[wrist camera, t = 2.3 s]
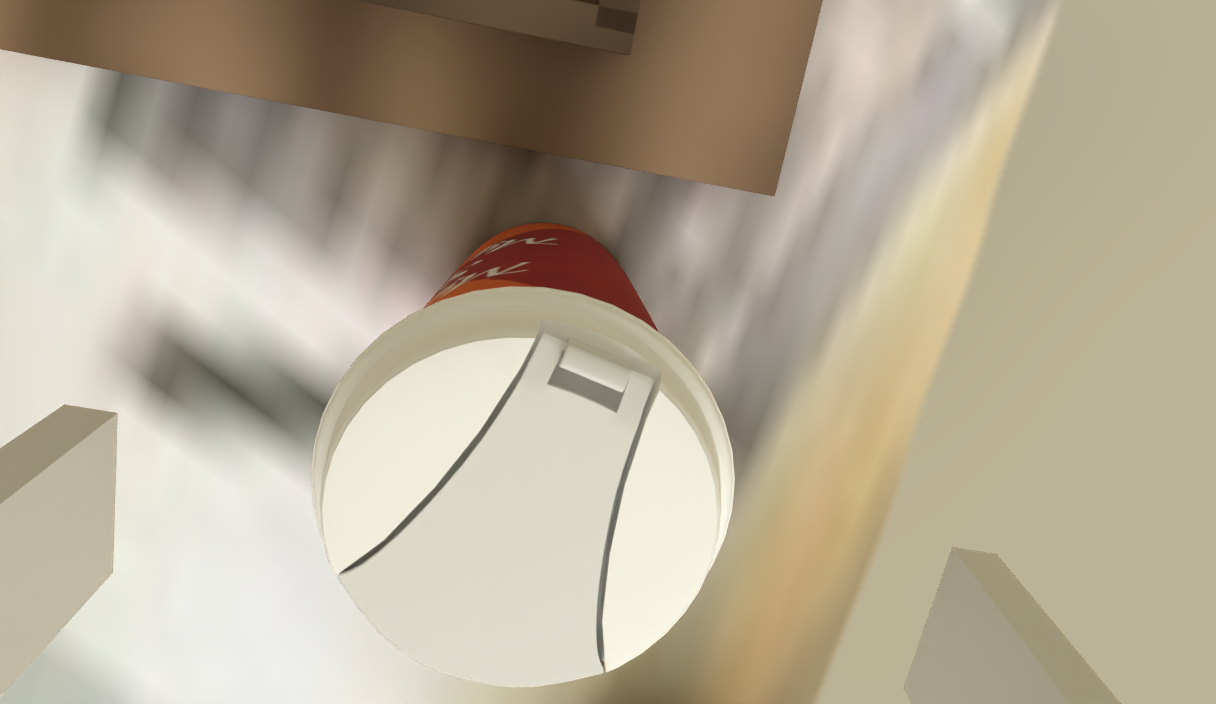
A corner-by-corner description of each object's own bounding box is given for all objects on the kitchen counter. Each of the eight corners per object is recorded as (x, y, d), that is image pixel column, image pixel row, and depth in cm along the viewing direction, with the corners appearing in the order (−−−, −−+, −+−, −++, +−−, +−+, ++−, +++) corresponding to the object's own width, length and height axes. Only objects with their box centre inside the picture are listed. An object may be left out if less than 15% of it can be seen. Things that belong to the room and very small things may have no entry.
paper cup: (475, 144, 27) (386, 227, 14) (706, 248, 28) (828, 417, 15) (383, 372, 29) (227, 636, 16) (601, 459, 30) (628, 773, 17)
